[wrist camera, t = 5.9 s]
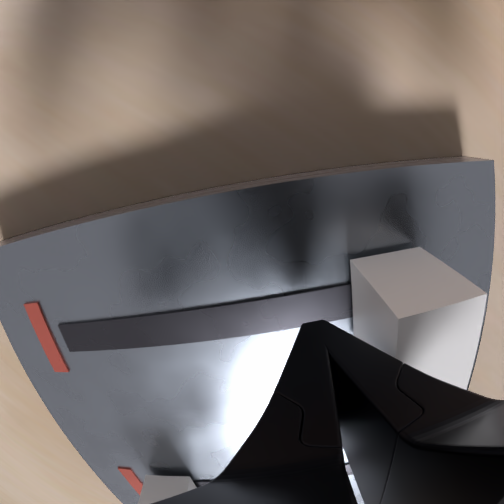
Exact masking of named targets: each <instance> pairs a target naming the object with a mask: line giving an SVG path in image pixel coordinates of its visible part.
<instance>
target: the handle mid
mask: <svg viewBox="0 0 504 504" xmlns="http://www.w3.org/2000/svg"><path fill="white" fill-rule="evenodd" d="M195 488H197V487H196V486H195V484H194V482H193V481H192V479H191V478H190V476H158V475H145V479H144V483H143V486H142V490H141V494H140V498H139V502H138V504H151V503H154V502H158V501H161V500H164V499H167V498H170V497H173V496H176V495H179V494H181V493H184V492H187V491H190V490H192V489H195Z"/></svg>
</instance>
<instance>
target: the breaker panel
mask: <svg viewBox="0 0 504 504" xmlns="http://www.w3.org/2000/svg"><path fill="white" fill-rule="evenodd" d="M494 232H495V174H494V160H489V159H481V158H473V157H464V156H461V157H445V158H430V159H418V160H406V161H395V162H385V163H376V164H367V165H358V166H349V167H341V168H333V169H326V170H318V171H311V172H304V173H297V174H291V175H284V176H278V177H271V178H265V179H259V180H253V181H248V182H242V183H236V184H231V185H225V186H220V187H215V188H209V189H204V190H199V191H194V192H189V193H184V194H179V195H175V196H170V197H165V198H161V199H156V200H152V201H147V202H143V203H138V204H134V205H130V206H126V207H121V208H117V209H113V210H109V211H105V212H101V213H97V214H93V215H89V216H86V217H82V218H78V219H74V220H71V221H67V222H63V223H60V224H56V225H52V226H49V227H45V228H42V229H39V230H35V231H32V232H28V233H25V234H22V235H19V236H15V237H12V238H9V239H6V240H3V241H1V242H0V321H1V323H2V325H3V327H4V330H5V332H6V334H7V336H8V338H9V340H10V342H11V345H12V347H13V349H14V351H15V353H16V355H17V357H18V358H19V360H20V362H21V364H22V366H23V368H24V370H25V372H26V373H27V375H28V377H29V379H30V381H31V382H32V384H33V386H34V387H35V389H36V391H37V392H38V394H39V396H40V397H41V399H42V401H43V402H44V404H45V405H46V407H47V409H48V410H49V412H50V413H51V415H52V416H53V418H54V419H55V421H56V422H57V424H58V425H59V427H60V428H61V429H62V431H63V432H64V434H65V435H66V436H67V438H68V439H69V441H70V442H71V443H72V445H73V446H74V447H75V449H76V450H77V451H78V452H79V454H80V455H81V456H82V458H83V459H84V460H85V461H86V463H87V464H88V465H89V466H90V467H91V469H92V470H93V471H94V472H95V473H96V475H97V476H98V477H99V478H100V479H101V480H102V482H103V483H104V484H105V485H106V486H107V487H108V488H109V489H110V491H111V492H112V493H113V494H114V495H115V496H116V497H117V498H118V499H119V500H120V501H121V502H122V503H123V504H138V502H139V498H140V494H141V490H142V486H143V483H144V479H145V475H158V476H190V478H191V479H192V481H193V482H194V484H195V486H196V487H197V488H198V487H200V486H203V485H205V484H207V483H209V482H211V481H212V480H214V479H215V478H216V477H217V476H218V475H219V474H220V473H221V472H222V471H223V470H224V469H225V468H226V466H227V465H228V464H229V462H230V461H231V460H232V458H233V457H234V456H235V454H236V453H237V452H238V450H239V449H240V447H241V446H242V445H243V443H244V442H245V440H246V439H247V438H248V436H249V435H250V433H251V432H252V430H253V429H254V427H255V426H256V424H257V423H258V421H259V419H260V418H261V416H262V414H263V412H264V410H265V408H266V407H267V405H268V403H269V400H270V398H271V396H272V394H273V392H274V389H275V387H276V385H277V382H278V380H279V378H280V376H281V373H282V371H283V368H284V366H285V364H286V361H287V359H288V357H289V354H290V352H291V349H292V347H293V344H294V342H295V340H296V337H297V335H298V332H299V330H300V327H301V325H302V324H303V323H307V322H313V321H318V320H326V321H328V322H330V323H332V324H333V325H335V326H337V327H339V328H341V329H342V330H344V331H346V332H348V333H350V334H352V335H353V336H354V334H353V304H352V284H351V267H350V260H351V259H357V258H362V257H368V256H373V255H379V254H384V253H389V252H395V251H400V250H405V249H410V248H416V247H421V248H423V249H424V250H426V251H427V252H429V253H430V254H432V255H433V256H435V257H436V258H438V259H439V260H441V261H442V262H443V263H445V264H446V265H448V266H449V267H451V268H452V269H454V270H455V271H457V272H458V273H459V274H461V275H462V276H464V277H465V278H466V279H468V280H469V281H471V282H472V283H473V284H475V285H476V286H478V287H479V288H480V289H482V290H483V291H484V292H486V293H487V298H486V305H485V311H484V317H483V323H482V328H481V333H480V338H479V343H478V347H477V352H476V356H475V360H474V364H473V368H472V372H471V375H470V379H469V383H468V386H467V390H468V388H469V384H470V381H471V377H472V373H473V370H474V366H475V362H476V358H477V354H478V349H479V345H480V340H481V336H482V331H483V326H484V320H485V315H486V309H487V303H488V296H489V289H490V281H491V272H492V262H493V249H494ZM343 453H344V461H345V466H346V471H347V474H348V477H349V479H350V482H351V485H352V488H353V491H354V494H355V497H356V500H357V503H358V504H364V501H363V499H362V496H361V494H360V491H359V488H358V486H357V483H356V480H355V478H354V475H353V472H352V470H351V467H350V465H349V462H348V459H347V457H346V454H345V452H344V449H343Z"/></svg>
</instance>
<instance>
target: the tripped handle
mask: <svg viewBox="0 0 504 504" xmlns="http://www.w3.org/2000/svg"><path fill="white" fill-rule="evenodd" d="M350 267H351V284H352V304H353V334H354V336H355V337H357V338H359V339H361V340H363V341H364V342H366V343H368V344H370V345H372V346H374V347H376V348H377V349H379V350H381V351H383V352H385V353H387V354H389V355H391V356H392V357H394V358H396V359H398V360H400V361H402V362H403V364H404V363H406V364H408V365H410V366H411V367H413V368H415V369H417V370H419V371H421V372H423V373H426V374H428V375H430V376H432V377H434V378H437V379H439V380H442V381H444V382H447V383H449V384H452V385H454V386H457V387H460V388H462V389H465V390H467V386H468V383H469V379H470V375H471V372H472V368H473V364H474V360H475V356H476V352H477V347H478V343H479V338H480V333H481V328H482V323H483V317H484V311H485V305H486V298H487V293H486V292H484V291H483V290H482V289H480V288H479V287H478V286H476V285H475V284H473V283H472V282H471V281H469V280H468V279H466V278H465V277H464V276H462V275H461V274H459V273H458V272H457V271H455V270H454V269H452V268H451V267H449V266H448V265H446V264H445V263H443V262H442V261H441V260H439V259H438V258H436V257H435V256H433V255H432V254H430V253H429V252H427V251H426V250H424V249H423V248H421V247H416V248H410V249H405V250H400V251H395V252H389V253H384V254H379V255H373V256H368V257H362V258H357V259H351V260H350Z"/></svg>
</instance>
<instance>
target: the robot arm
mask: <svg viewBox="0 0 504 504" xmlns="http://www.w3.org/2000/svg"><path fill="white" fill-rule="evenodd" d="M343 449H344V452H345V454H346V457H347V459H348V462H349V465H350V467H351V470H352V472H353V475H354V478H355V480H356V483H357V486H358V488H359V491H360V494H361V496H362V499H363V501H364V504H504V400H495V399H491V398H487V397H484V396H482V395H479V394H476V393H473V392H471V391H468V390H465V389H462V388H460V387H457V386H454V385H452V384H449V383H447V382H444V381H442V380H439V379H437V378H434V377H432V376H430V375H428V374H426V373H423V372H421V371H419V370H417V369H415V368H413V367H411V366H410V365H408V364H406V363H404V364H403V362H402V361H400V360H398V359H396V358H394V357H392V356H391V355H389V354H387V353H385V352H383V351H381V350H379V349H377V348H376V347H374V346H372V345H370V344H368V343H366V342H364V341H363V340H361V339H359V338H357V337H355V336H353V335H352V334H350V333H348V332H346V331H344V330H342V329H341V328H339V327H337V326H335V325H333V324H332V323H330V322H328V321H326V320H318V321H313V322H307V323H303V324H302V325H301V327H300V330H299V332H298V335H297V337H296V340H295V342H294V344H293V347H292V349H291V352H290V354H289V357H288V359H287V361H286V364H285V366H284V368H283V371H282V373H281V376H280V378H279V380H278V382H277V385H276V387H275V389H274V392H273V394H272V396H271V398H270V400H269V403H268V405H267V407H266V408H265V410H264V412H263V414H262V416H261V418H260V419H259V421H258V423H257V424H256V426H255V427H254V429H253V430H252V432H251V433H250V435H249V436H248V438H247V439H246V440H245V442H244V443H243V445H242V446H241V447H240V449H239V450H238V452H237V453H236V454H235V456H234V457H233V458H232V460H231V461H230V462H229V464H228V465H227V466H226V468H225V469H224V470H223V471H222V472H221V473H220V474H219V475H218V476H217V477H216V478H215V479H214V480H212V481H211V482H209V483H207V484H205V485H203V486H200V487H198V488H195V489H192V490H190V491H187V492H184V493H181V494H179V495H176V496H173V497H170V498H167V499H164V500H161V501H158V502H154V503H151V504H358V503H357V500H356V497H355V494H354V491H353V488H352V485H351V482H350V479H349V477H348V474H347V471H346V466H345V461H344V453H343Z"/></svg>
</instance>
